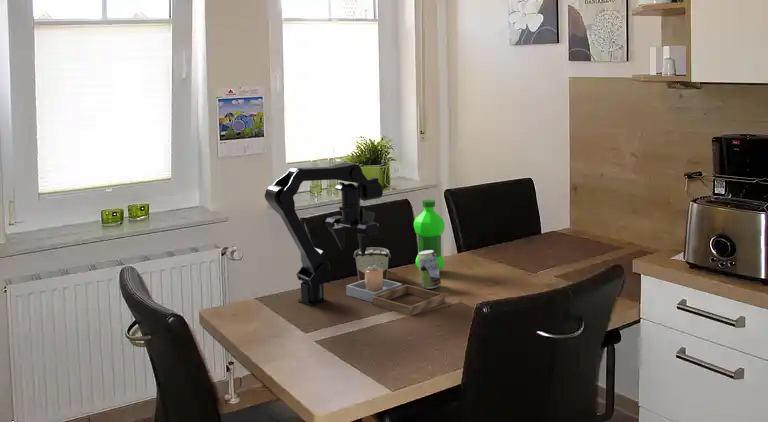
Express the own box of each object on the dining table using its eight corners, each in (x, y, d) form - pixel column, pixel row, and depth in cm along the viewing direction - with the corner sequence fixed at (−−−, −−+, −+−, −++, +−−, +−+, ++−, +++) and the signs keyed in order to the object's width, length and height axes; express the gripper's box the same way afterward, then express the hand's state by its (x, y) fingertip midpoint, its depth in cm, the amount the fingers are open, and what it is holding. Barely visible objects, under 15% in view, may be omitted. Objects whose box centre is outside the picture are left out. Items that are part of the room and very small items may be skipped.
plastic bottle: (428, 279, 264) (427, 205, 259) (408, 272, 272) (407, 200, 267) (451, 273, 270) (450, 201, 264) (431, 267, 278) (429, 196, 273)
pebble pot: (374, 295, 246) (373, 269, 245) (361, 291, 250) (360, 266, 249) (386, 291, 250) (386, 265, 249) (373, 287, 254) (373, 262, 253)
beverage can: (439, 290, 252) (439, 253, 249) (416, 289, 253) (415, 253, 251) (442, 284, 258) (441, 248, 255) (419, 283, 259) (418, 248, 257)
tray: (374, 302, 242) (374, 293, 241) (346, 294, 250) (346, 285, 250) (402, 292, 251) (402, 283, 250) (374, 285, 259) (373, 276, 258)
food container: (392, 275, 269) (392, 246, 267) (391, 280, 263) (390, 251, 261) (356, 275, 271) (355, 246, 269) (354, 280, 265) (353, 251, 263)
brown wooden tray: (410, 315, 230) (410, 307, 229) (372, 304, 240) (372, 296, 240) (444, 302, 241) (444, 294, 240) (406, 292, 251) (406, 284, 251)
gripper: (390, 202, 247) (392, 251, 250) (348, 195, 260) (350, 242, 263) (365, 208, 239) (367, 258, 243) (323, 201, 252) (325, 249, 255)
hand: (352, 251), depth 251 cm, fingers open, 9 cm apart
